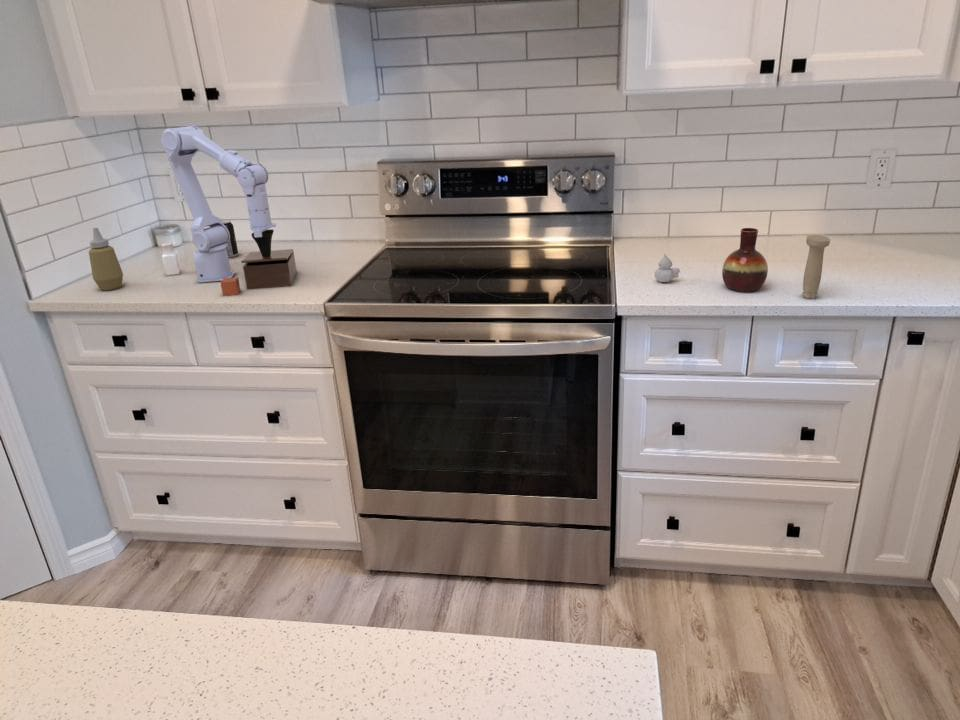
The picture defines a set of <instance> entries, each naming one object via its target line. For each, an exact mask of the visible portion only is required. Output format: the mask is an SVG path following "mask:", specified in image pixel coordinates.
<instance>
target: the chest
mask: <svg viewBox="0 0 960 720" xmlns="http://www.w3.org/2000/svg"><path fill="white" fill-rule="evenodd" d="M242 269H243V274H244V280H245V285H246V290H254V289H255V290H256V289H257V290H258V289H267V288H269V289H270V288H280V287H281V288H282V287H292V285H293V283H294V281H295V278H296V276H297V274H298V273H297V272H298V271H297V265H296V258H295V252H294V250H293V252H292V254H291V255H290V256H289V257H288V259H287V260H276V261H263V262H249V263H243V265H242Z"/></svg>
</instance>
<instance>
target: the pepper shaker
mask: <svg viewBox="0 0 960 720" xmlns="http://www.w3.org/2000/svg"><path fill="white" fill-rule="evenodd" d="M160 246H161V251H162V253H163V254H162V255H161V259H162V263H163V267H164V272H165V275H166V276H173V275H174V276H175V275H180V273H181V268H180V263H179V258H178V253H177V252H175V251H174V244H173V243H172V242H165V243H162V244H160Z"/></svg>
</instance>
